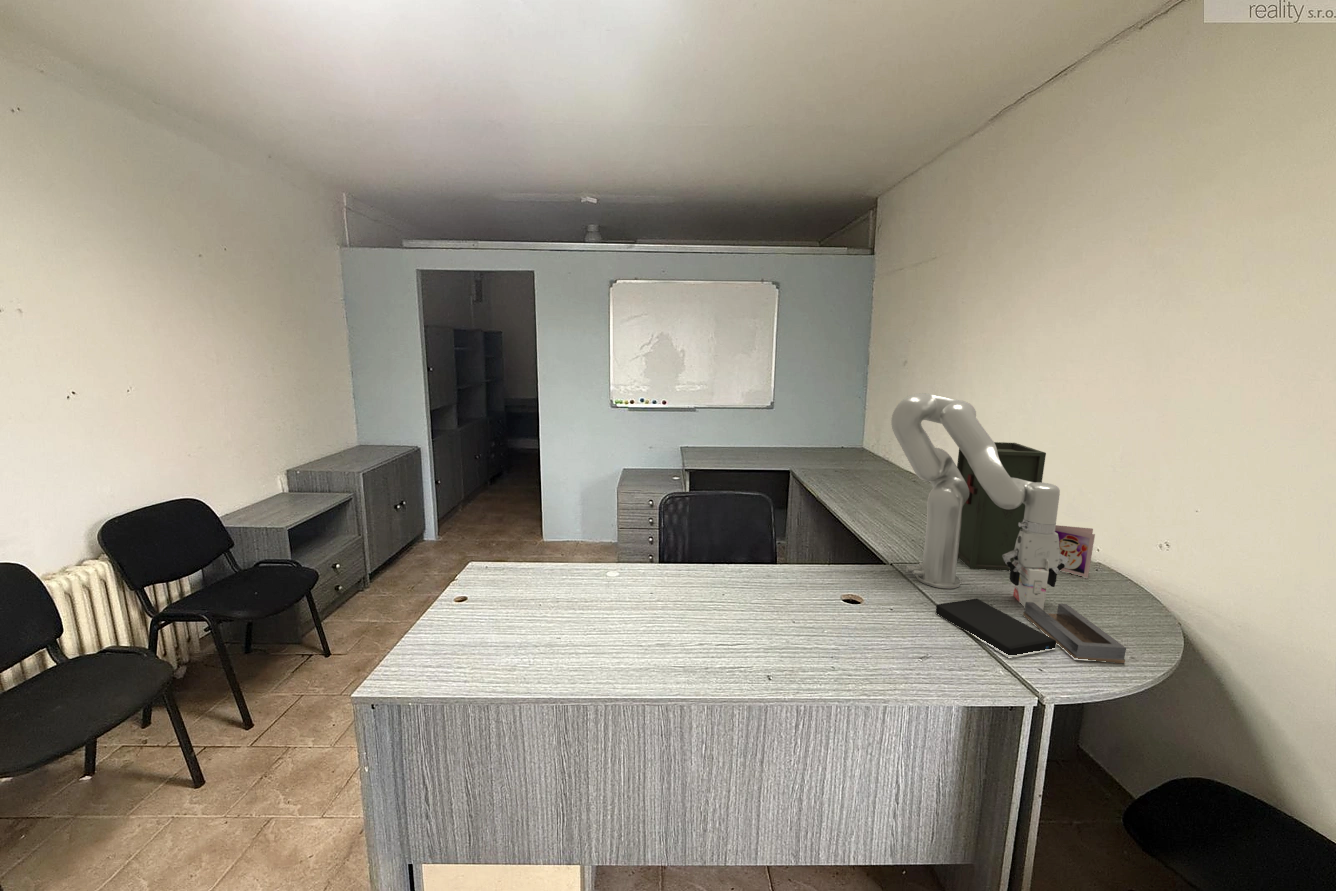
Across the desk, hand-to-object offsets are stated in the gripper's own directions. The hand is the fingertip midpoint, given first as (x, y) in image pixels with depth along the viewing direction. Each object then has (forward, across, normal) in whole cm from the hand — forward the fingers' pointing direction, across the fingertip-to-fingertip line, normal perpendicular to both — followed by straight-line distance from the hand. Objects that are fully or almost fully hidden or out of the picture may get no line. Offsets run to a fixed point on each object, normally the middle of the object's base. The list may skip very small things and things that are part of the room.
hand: (1032, 584), depth 155 cm
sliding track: (+6, 0, -19) cm, 20 cm away
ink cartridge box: (+6, 0, 0) cm, 6 cm away
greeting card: (+6, +27, +26) cm, 38 cm away
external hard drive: (+6, -19, -17) cm, 26 cm away
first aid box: (+6, +4, +33) cm, 34 cm away
